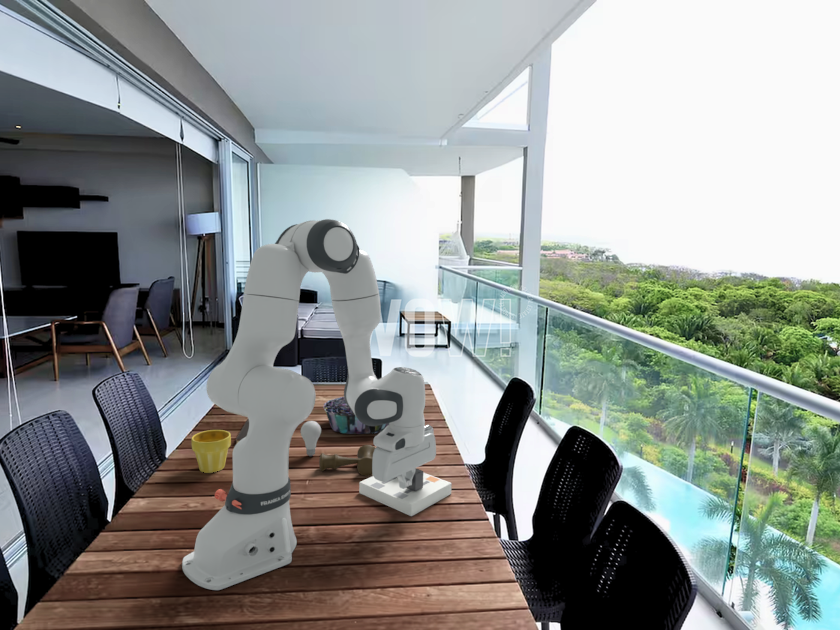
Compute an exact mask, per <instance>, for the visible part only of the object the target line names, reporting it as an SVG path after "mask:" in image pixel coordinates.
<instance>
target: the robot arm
mask: <svg viewBox="0 0 840 630" xmlns="http://www.w3.org/2000/svg"><path fill="white" fill-rule="evenodd" d="M308 272H309V273H310V272H311V273H322V274H323V275H324V276H325V278H326V280H327V282H328V285H329V291H330V299H331V305H332V309H333V314H334V318H335V320H336V323H337V326H338V330H339V331H340V334H341V337H342V340H343V344H344V350H345V358H346V359H345V360H346V365H347V368H346V369H347V378H346V381H345V385H344V387H343V388H344V390H343V397H344V399H345V402H346V404H347V405H348V407H349V408H350V409H351V410H352V411H353V413H354V414H355V416H356V417H357V418H358V420H359V421H360V422H361V423H363V424H365V425H368V426H378V425H383V424H387V423H389V425H388V426H387V427H386V428H385V429H384V430H383V431H379V432H378V433H377V434H376V435H375V436H374V438H373V444H372V445H374V447H375V450H374V452H373V461H372V476H374V478H375V479H377V480H379V481H381V482H387V481H389V480H391V479H393V478H395V477H397V478H398V480H399V487H400V488H402V489H405V488H407V487H409V486H411V485H412V479H413V476H414V474H415V471H416V469H418V468H419V467H421V466H423V465H425V464H428V463H429V462H431V461H434V460H435V458H436V457H437V444H436V443H437V442H436V436H435V433H434V428H433V426H431V425H430V424H425V423H426V421H425V419H426V418H425V416H424V411H425V410H424V409H425V406H426V385H425V378H424V376H423V375H422V374H421V373H420V372H419V371H417V370H416V369H412V368H409V367H404V366H401V367H394V368H393V369H392V370H391V371H390V372H389V373H387V374H386V375H384V376H382V377H380V378H378V377H377V376H376V374H375V372H374V369H373V359H372V351H371V336H372V334H373V332H374V331H375V329H376V328H377V327H378V326H379V324H380V322H381V312H382V311H381V306H382V305H381V297H380V290H379V286H378V280H377V276H376V272H375V269H374V266H373V263H372V260H371V257H370V255H369V254H368V253H367V251H365V250H362V249H361V248H360V246H359V245H358V243H357V240H356V237H355V235H354V233H353V231H352V229H350V227H349V226H348V225H346V223H344V222H342V221H339V220H336V219H330V218H329V219H328V218H326V219H321V220H308V221H307V220H306V221H303V222H300V223H298V224H297V223H296V224H292V225H291V226H289V227H287V228H285V230H283V232H281V234H280V235H279V236H278V238H277V240H276V242H274V243H268V244H263V245H261V246H260V247H258V248H257V249H256V250H255V251H254V252H253V255H252V258H251V261H250V264H249V268H248V271H247V275H246V280H245V284H244V290H243V291H244V292H243V297H242V305H241V312H240V318H239V325H238V328H237V329H238V330H237V333H236V337H235V339H234V342H233V344H232V346H231V348H230V350H229V352H228V354H227V355H226V357H225V358H224V359H223V361H221V363H220V364H218V365H216V367H214V369H212V370H211V372H210V373H209V376H208V378H207V381H206V394H207V396H208V398H209V400H210V402H211V403H213V404H214V405H216V406H217V407H219V408H220V409H222V410H224V411H225V412H227V413H230V414H234V415H238V416H242V417H246V418H247V419H249V429H248V433H247V436H246V437H245V438H243V439H242V440H240V441H239V442H238V443H237V442H236V444H235V445H234V447H233V449H232V483H231V485H230V489H229V490H228V492H227V491H225V490H224V489H222V488H220V489H217V490H216V491H215V493H214V498H215V499H216V500H218V501H219V502H224V501H225V503H224V505H223V506H222V507H221V508H220V509H219V511H218V512H216V514H215V515H214V516H213V517H212V518H211V519H210V520H209V521H208V522H207V523H206V524H205V525H204V526H203V527H202V528H201V529H200V530H199V532H197V536H196V539H195V544H194V550H193V551H191V552H190V553H188V554H187V555H185V556H184V557H183V558H182V562H181V563H182V564H181V566H182V572H183V573H184V575H185V576H186V578H188V579H189V580H190V581H191V582H192V583H194V584H195V585H197V586H199V587H201V588H204V589H207V590H212V591H220V590H223V589H226V588H228V587H231V586H233V585H234V586H235V585H236V584H237V585H238V584H239V583H242V582H244V581H247V580H249V579H252V578H255V577H257V576H260V575H263V574H265V573H268V572H271V571H273V570H276V569H278V568H282V567H284V566H287V565H289V564H291V563H292V561H293V553H294V551H295V550H296V549H295V548H296V547H297V537H296V533H295V531H294V528H293V522H292V516H291V515H292V514H291V507H290V498H291V494H292V493H291V490H292V489H291V478H290V476H289V461H290V460H289V459H290V458H289V457H290V456H289V454H290V445H291V441H292V438H293V435H294V433H295V430H296V429H297V427H298V426H299V425H300V424H302V423H303V422H305V421H306V420H307V419H308V418H309V416H310V415H311V413H312V412H313V410H314V407H315V404H316V398H317V397H316V389H315V386H314V384H313V382H312V381H311V379H309V378H308V377H306V376H304V375H302V374H301V373H299V372H295V371H294V370H291V369H288V368H282V367H276V366H274V363H275V360H276V357H277V355H278V353H279V352H280V350H281V349H282V348H283V347H285V346H286V345H288V344H290V343H291V342H292V341H293V340H294V338H295V335H296V330H297V329H296V328H297V320H298V312H299V305H300V295H301V285H302V282H303V280H304V279H305V276H306V274H307V273H308ZM406 472H407V473H406ZM404 476H405V477H404Z"/></svg>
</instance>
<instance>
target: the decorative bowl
mask: <svg viewBox="0 0 840 630" xmlns="http://www.w3.org/2000/svg"><path fill="white" fill-rule="evenodd" d="M322 408H323V409H324V411H325V415H326V417H327V419H328V422H329V425H330V427H331V429H332V430H333V432H336V433H340V434H343V435H347V434H348V435H364V434H373V433H374V434H379V433H380V432H382V431H383V430H384V429H385V428H386V427H387V426H388V425H389V423H387V424H383V425H378V426H368V425H365V424H363V423H361V422H360V421H359V420H358V418H357V417H356V416H355V414H354V413H353V411H352V410H351V409H350V408H349V407H348V405H347V404H346V402H345V399H344V396H341V397H340V396H339V397H336V398H333V399H330V400H327V401H326V402H325V403H323V406H322Z"/></svg>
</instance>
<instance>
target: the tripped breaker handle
mask: <svg viewBox="0 0 840 630" xmlns="http://www.w3.org/2000/svg"><path fill="white" fill-rule="evenodd" d="M423 473H424V471H423V470H422V469H419V468H416V471H415V474H414V476H413V479H412V485H411V486H409V487H407V488H408V489H410V490H413V491H417V490H419V489H421V488H423Z"/></svg>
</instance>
